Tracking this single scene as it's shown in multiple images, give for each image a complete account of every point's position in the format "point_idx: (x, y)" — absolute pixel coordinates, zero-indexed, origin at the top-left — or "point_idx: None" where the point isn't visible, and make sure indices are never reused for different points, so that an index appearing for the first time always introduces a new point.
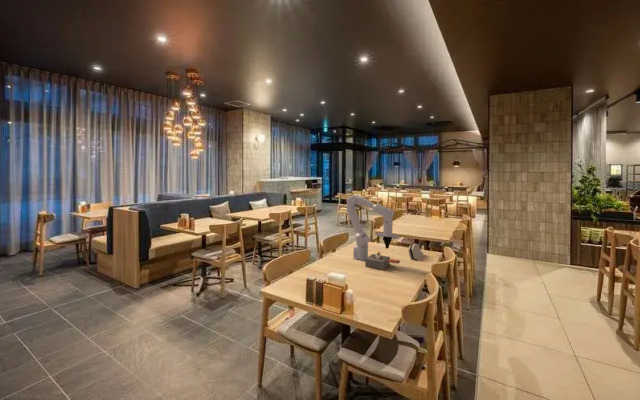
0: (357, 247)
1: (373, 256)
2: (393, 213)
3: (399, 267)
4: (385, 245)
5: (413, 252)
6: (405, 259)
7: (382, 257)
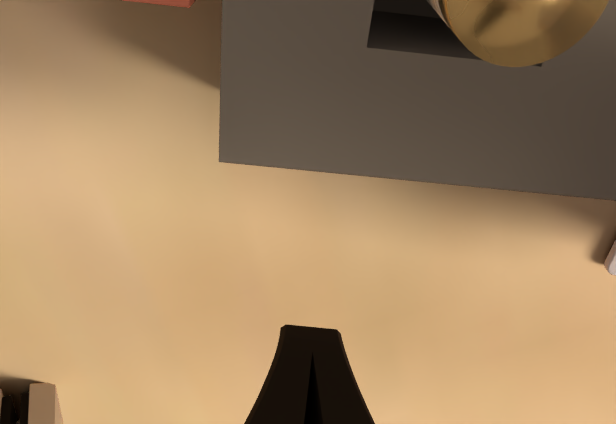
0: None
1: (600, 32)
2: None
3: (29, 5)
4: (350, 385)
5: None
6: (112, 370)
7: (368, 47)
